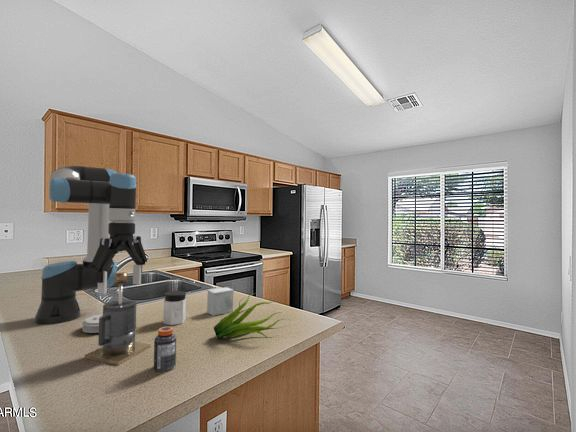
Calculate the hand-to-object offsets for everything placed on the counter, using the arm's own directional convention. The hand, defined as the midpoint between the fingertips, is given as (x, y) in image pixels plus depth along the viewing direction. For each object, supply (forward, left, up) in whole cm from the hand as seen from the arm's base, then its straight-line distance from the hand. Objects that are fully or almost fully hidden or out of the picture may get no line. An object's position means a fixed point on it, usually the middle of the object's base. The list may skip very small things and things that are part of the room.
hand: (120, 288), depth 97 cm
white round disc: (-23, +14, -21) cm, 34 cm away
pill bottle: (+20, -3, -21) cm, 29 cm away
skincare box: (+9, +48, -21) cm, 53 cm away
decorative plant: (+33, +31, -21) cm, 50 cm away
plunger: (0, 0, -13) cm, 13 cm away
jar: (-2, +30, -21) cm, 36 cm away
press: (0, 0, -20) cm, 20 cm away
